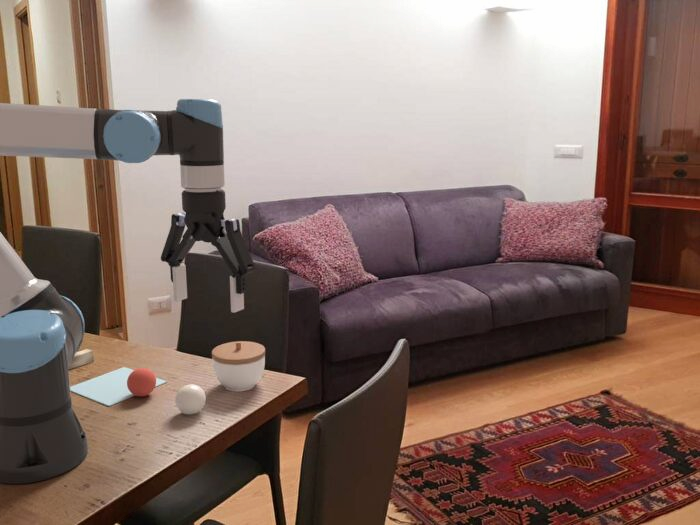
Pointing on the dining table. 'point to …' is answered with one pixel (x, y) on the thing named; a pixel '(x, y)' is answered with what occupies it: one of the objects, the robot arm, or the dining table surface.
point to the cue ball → (190, 399)
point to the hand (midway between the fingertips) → (208, 305)
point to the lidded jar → (239, 364)
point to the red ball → (141, 382)
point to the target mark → (108, 387)
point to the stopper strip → (81, 358)
